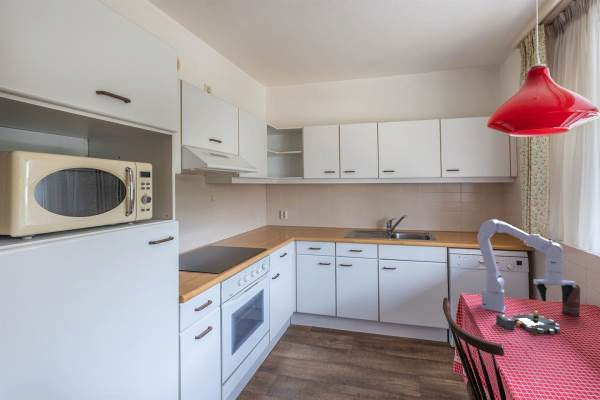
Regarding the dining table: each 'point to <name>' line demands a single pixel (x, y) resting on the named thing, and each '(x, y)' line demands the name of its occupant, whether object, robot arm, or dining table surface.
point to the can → (572, 303)
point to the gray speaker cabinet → (505, 322)
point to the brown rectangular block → (534, 330)
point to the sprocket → (536, 323)
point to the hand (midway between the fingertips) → (554, 301)
